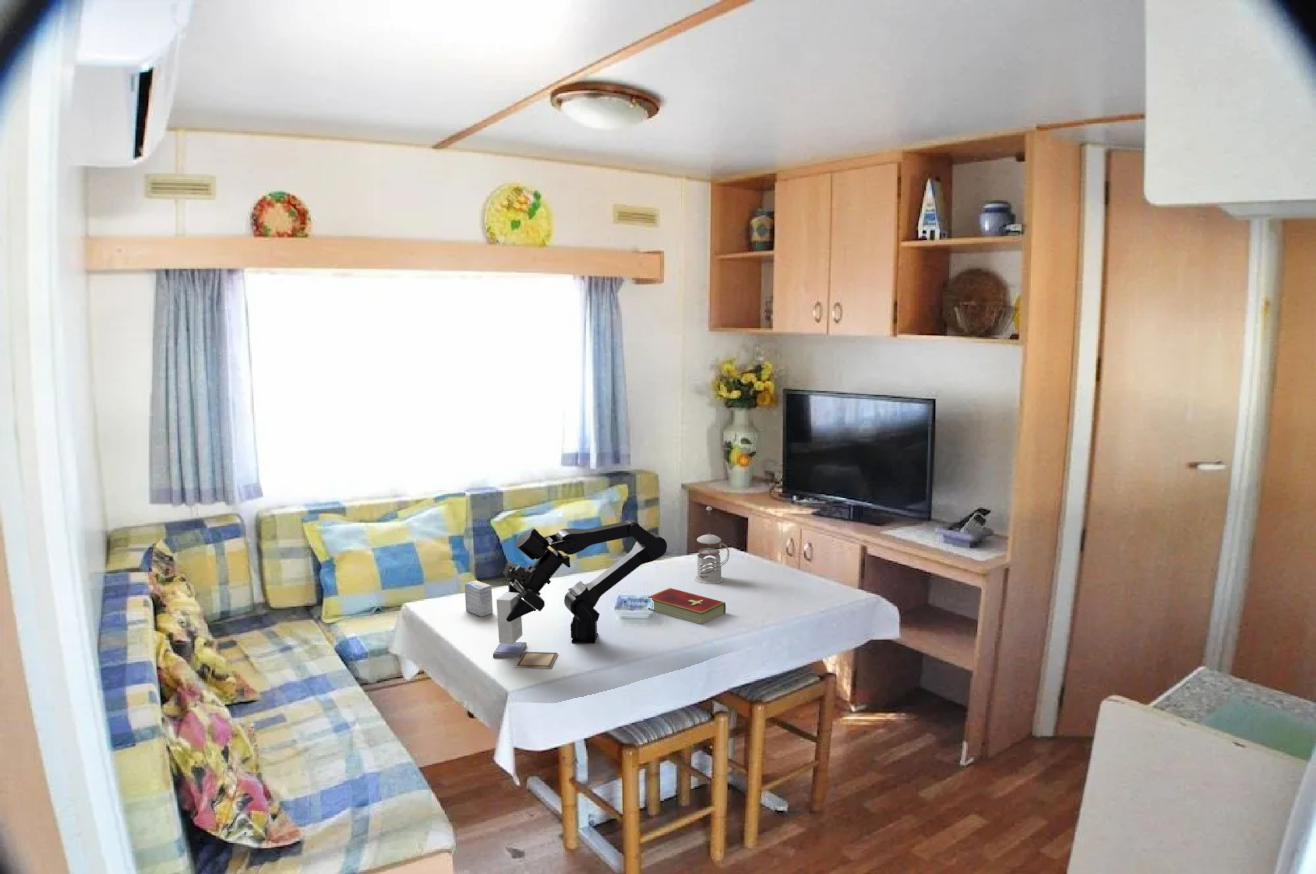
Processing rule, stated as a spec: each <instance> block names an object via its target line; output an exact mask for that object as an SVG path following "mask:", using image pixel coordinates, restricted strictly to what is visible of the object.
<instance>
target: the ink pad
mask: <svg viewBox="0 0 1316 874" xmlns="http://www.w3.org/2000/svg"><path fill="white" fill-rule="evenodd" d="M526 648H527V642H526V641H516V642H515V643H514V644H507V643H498V645H497V647H496V648H495V650H494V651H493V652H492V658H505V659H507V658H510V659H513V658H514V659H520V658H521V656H522V655H523V653H524V652H525V649H526Z"/></svg>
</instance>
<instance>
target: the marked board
mask: <svg viewBox="0 0 1316 874" xmlns="http://www.w3.org/2000/svg"><path fill="white" fill-rule="evenodd" d="M558 655H559V652H546V651H545V652H543V651H541V652H540V651H539V652H538V651H523V653H522V655H521V656H520V658H519V660H518V662H517V664H516V665H515V668H517V669H552V668H553V665H554V664H555V661H556V659H557V657H558Z"/></svg>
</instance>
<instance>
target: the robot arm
mask: <svg viewBox="0 0 1316 874" xmlns="http://www.w3.org/2000/svg"><path fill="white" fill-rule="evenodd" d="M629 537H631V538H633V539H634V540H636V542H635V544H634V545H633V547H632V549H631V550H630V551H629V552H628V553H627V554H626V555H624V556H623V557H622V558H620V559H619V560H618V561H616V562H614V563H613V564H612V565H611V566H610V567H609V568H607V569H606V570H605V571H603V572H602V573H601V574H599V575H598V576H596V577H595V578H593V580H591V582H587V583H583V581H581V580H580V581H578V582H576V583H575V585H573V586H571V587H570V588H568V589H567V590H568V591H567V592H566V593H565V595H564V599H563V602H564V603H563V604H564V605H565V607H566V609H567V610H568V611H569V612H570V613H572V615H573V617H572V620H571V623H570V639H571V643H572V644H596V642H597V640H598V637H599V632H598V621H599V618H600V616H601V615H600V613H599V612H598V610H596V609H595V607H596V605H597V603H598V602H599V600H600V599H601V597H602V596H603V595H604V594H605V593H607V592H609V590H611V588H613V587H614V586H616V585H617V584H619V583H620V582H621V581H622V580H624V579H625V578H626V577H627V576H629V575H630V574H631V573H633V571H635V570H636V569H638V568H639V567H640V566H641V565H645V564H648V563H652V562H654V561H656V560H657V559H659V558H661V557H663V556H664V555H665V554H667V549H668V543H667V541H666V539H665V538H663V537H662V536H660V535H658V534H657V533H655V532H654V531H653V532H652V531H647V530H646V529H644V528H643V527H642V526H641V525H640V524H639V523H638V522H636V521H635V520H633V519H627V520H624V521H619V522H615V523H610V524H605V525H601V526H596V527H591V528H577V527H575V528H562V529H559V530H557V532H556V533H554V534H550V535H546V536H543V535H542V534H541V533H539V530H537V529H536V528H535V527H531V528H530V529H529V530H526V531H525V532H523V533H521V534H520V535H519V537H518V538H517V540H516V542H515V544H514V545H515V548H516V549H517V550H519V551H520V552H521V553H523V555H525V556H526V557H527V558H528V559H530V560H531V561H533V560H536V562H535V563H534V564H531V563H530V564H528V565H527V567H525V566H522V565H519V564H516V563H513V562H506V565H505V568H504V571H503V573H502V574H503V575H504V576H505V578H506V579H507V580H508V581H507V586H508V591H507V592H513V593H520V596H519V595H518V594H517V603H516V605H515V606H514V608H513V609H512V611H511V612H510V614H509V615H508V617H507V619H506V620H507V621H508V622H511V621H513V620H515V619H517V618H519V617H521V618H522V617H523V616H525V615H527V614H528V615H529V614H530V613H532V612H536V611H538V612H541V611H542V610H543V608H544V607H545V605H546V604H545V602H546V601H545V600H544V599H543V597H542V596H541V594H542V593H541V592H540V591H542V589H543V588H544V587H545V586H546V584H547V585H550V584H551V582H552V581H551V578H553V576H554V575H555V574H556V573H557V571H558V570H559V569H561V568H560V567H561V566H562V565H564V566H566V567H567V568H571V558H570V555H575V554H576V553H580V552H582V551H585V549H587V548H588V547H590V546H593V545H597V544H603V543H606V542H611V541H615V540H620V539H625V538H629ZM549 547H550V548H551V549H553V550H551V549H550V548H549ZM561 552H562V553H564V554H565V555H563V554H562V553H561Z"/></svg>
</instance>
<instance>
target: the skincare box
mask: <svg viewBox="0 0 1316 874" xmlns="http://www.w3.org/2000/svg"><path fill="white" fill-rule="evenodd" d="M517 594H518V595H519V596H520V593H513V592H508V591H505V592H504V593H503V594H502V595H501V596H499V597H498V598H496V613H497V615H496V616H497V617H496V618H497V630H498V631H497V633H498V644H500V643H507V644H514V643H515V642H518V640H519V639H520V638H521V637H522V636H523V620H522V619H523V618H522V616H521V617H519V618H517V619H515V620H513V621H511V622H508V621H507V620H506V619H507V617H508V615H509V614H510V612H511V611H512V609H513V608H514V606H515V605H516V603H517Z"/></svg>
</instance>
